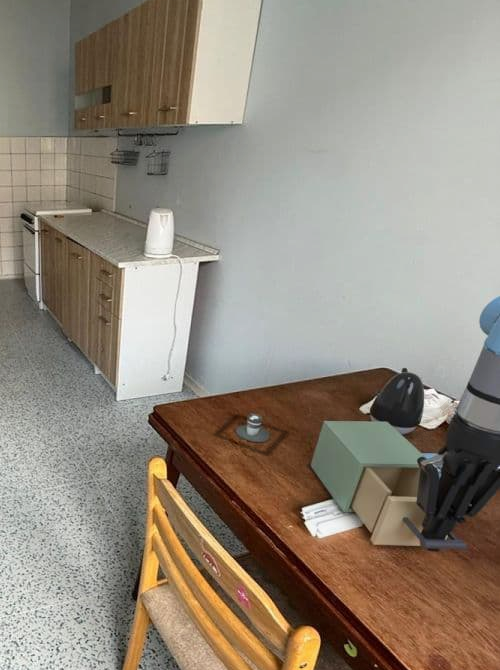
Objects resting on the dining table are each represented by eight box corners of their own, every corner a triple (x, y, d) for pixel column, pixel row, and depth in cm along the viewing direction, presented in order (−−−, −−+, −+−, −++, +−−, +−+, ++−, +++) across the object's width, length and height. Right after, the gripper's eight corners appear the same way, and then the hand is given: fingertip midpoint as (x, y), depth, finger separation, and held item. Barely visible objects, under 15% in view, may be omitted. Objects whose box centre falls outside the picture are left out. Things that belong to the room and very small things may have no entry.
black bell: (410, 422, 117) (432, 367, 110) (418, 444, 109) (443, 386, 102) (362, 414, 121) (381, 361, 114) (367, 435, 113) (387, 378, 106)
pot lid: (285, 432, 115) (290, 415, 112) (266, 453, 107) (270, 435, 105) (238, 415, 122) (241, 399, 120) (216, 434, 115) (219, 417, 112)
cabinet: (411, 513, 89) (434, 464, 84) (343, 512, 90) (360, 463, 85) (370, 467, 102) (387, 421, 97) (310, 465, 103) (323, 420, 97)
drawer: (468, 575, 75) (494, 530, 71) (394, 573, 76) (415, 528, 72) (396, 494, 93) (413, 454, 88) (336, 493, 94) (350, 452, 89)
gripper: (515, 408, 68) (454, 529, 80) (422, 407, 69) (374, 527, 80) (562, 437, 62) (487, 564, 73) (458, 435, 63) (400, 561, 74)
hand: (428, 544), depth 77 cm, fingers closed
